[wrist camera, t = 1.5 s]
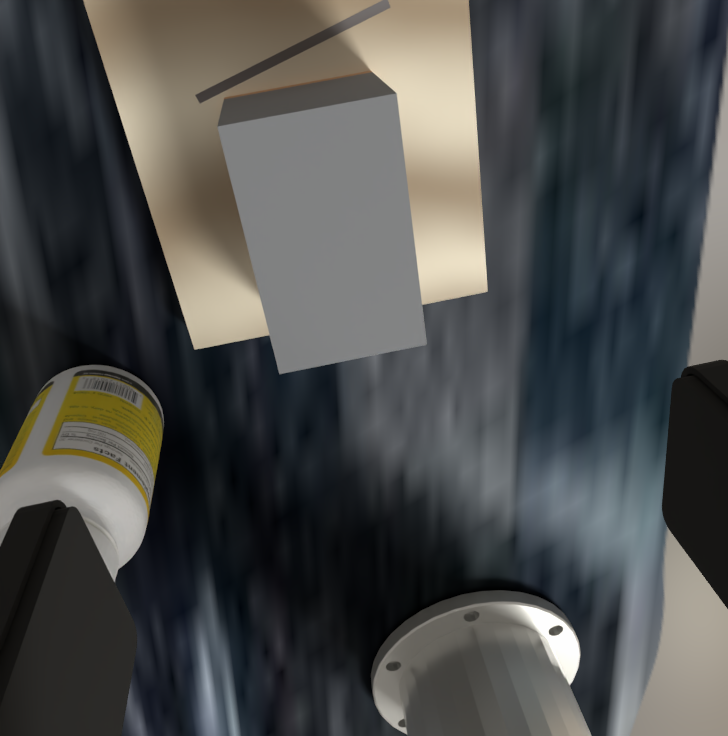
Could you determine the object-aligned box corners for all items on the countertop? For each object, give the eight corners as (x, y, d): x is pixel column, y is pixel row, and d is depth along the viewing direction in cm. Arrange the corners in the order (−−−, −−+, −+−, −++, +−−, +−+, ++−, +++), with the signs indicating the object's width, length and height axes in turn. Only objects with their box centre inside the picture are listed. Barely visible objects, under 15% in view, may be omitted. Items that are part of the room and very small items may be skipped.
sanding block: (400, 285, 27) (426, 344, 23) (275, 310, 27) (279, 374, 23) (370, 70, 23) (396, 93, 19) (224, 97, 23) (217, 126, 19)
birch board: (477, 277, 29) (487, 291, 28) (197, 332, 29) (194, 349, 28) (421, -489, 18) (434, -525, 17) (-38, -420, 18) (-61, -451, 16)
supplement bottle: (73, 478, 32) (8, 662, 23) (11, 383, 29) (-89, 553, 21) (186, 443, 32) (161, 616, 23) (134, 344, 29) (84, 499, 20)
